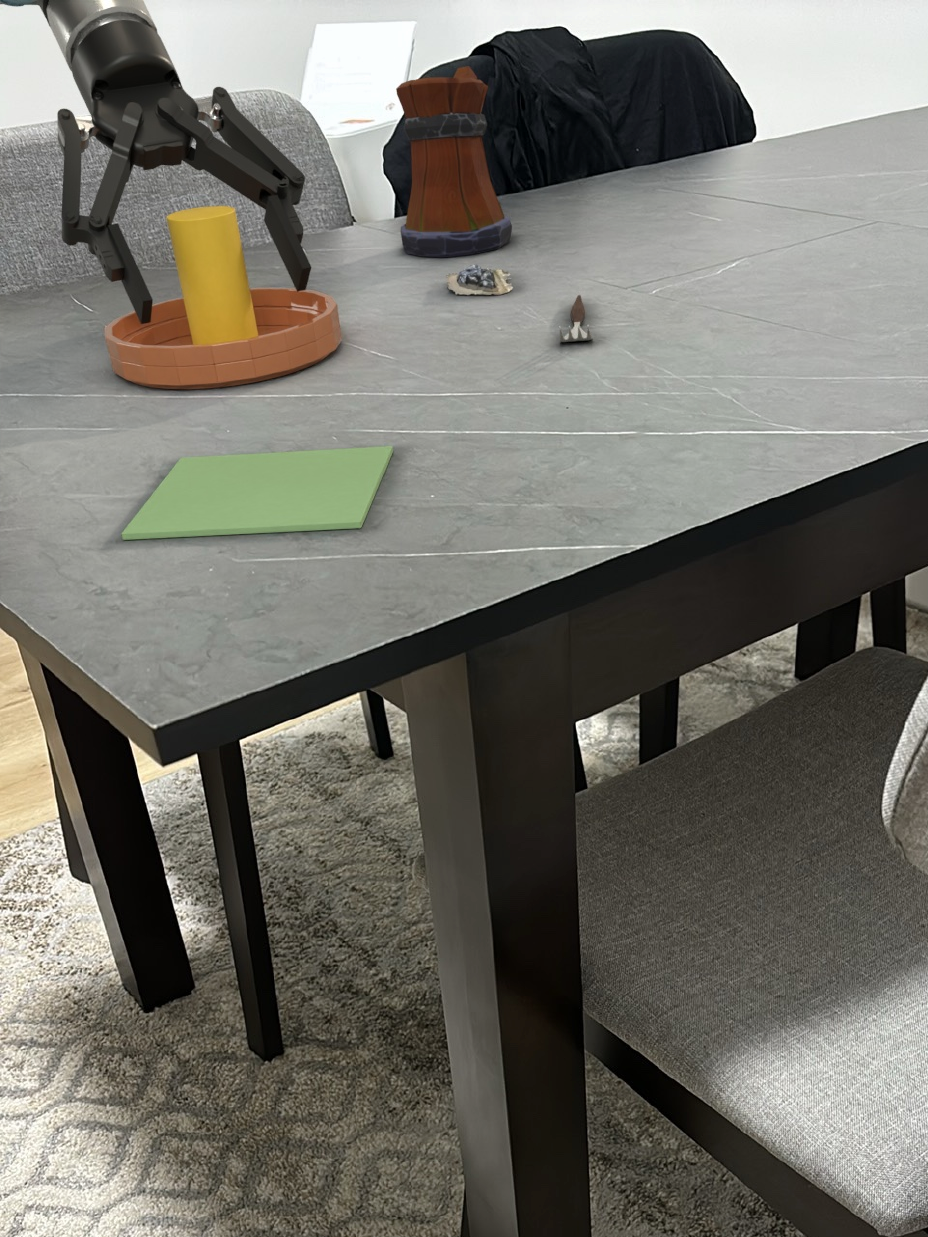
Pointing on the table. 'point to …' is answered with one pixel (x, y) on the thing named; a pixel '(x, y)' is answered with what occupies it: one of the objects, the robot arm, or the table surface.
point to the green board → (263, 493)
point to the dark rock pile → (479, 281)
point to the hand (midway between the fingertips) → (227, 295)
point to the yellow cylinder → (212, 274)
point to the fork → (576, 324)
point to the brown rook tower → (449, 169)
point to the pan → (169, 360)
